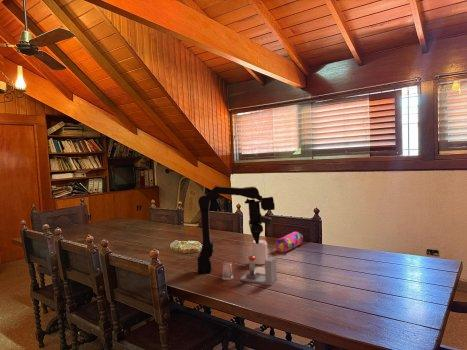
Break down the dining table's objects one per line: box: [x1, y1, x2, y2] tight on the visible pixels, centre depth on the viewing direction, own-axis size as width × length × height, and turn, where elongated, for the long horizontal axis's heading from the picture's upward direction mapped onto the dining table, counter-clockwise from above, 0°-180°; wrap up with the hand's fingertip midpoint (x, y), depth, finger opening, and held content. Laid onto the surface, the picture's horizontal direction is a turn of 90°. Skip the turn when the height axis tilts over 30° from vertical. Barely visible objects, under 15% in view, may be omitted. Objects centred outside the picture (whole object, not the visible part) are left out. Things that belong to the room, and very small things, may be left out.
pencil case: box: [275, 231, 304, 254], centre depth 205 cm, size 22×9×9 cm, turn 144°
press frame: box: [240, 256, 278, 286], centre depth 160 cm, size 16×17×11 cm
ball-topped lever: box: [245, 254, 260, 279], centre depth 157 cm, size 5×4×10 cm
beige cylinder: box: [251, 239, 269, 266], centre depth 181 cm, size 8×8×12 cm
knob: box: [221, 261, 235, 281], centre depth 161 cm, size 6×6×7 cm
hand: (256, 241), depth 171 cm, fingers open, 9 cm apart
